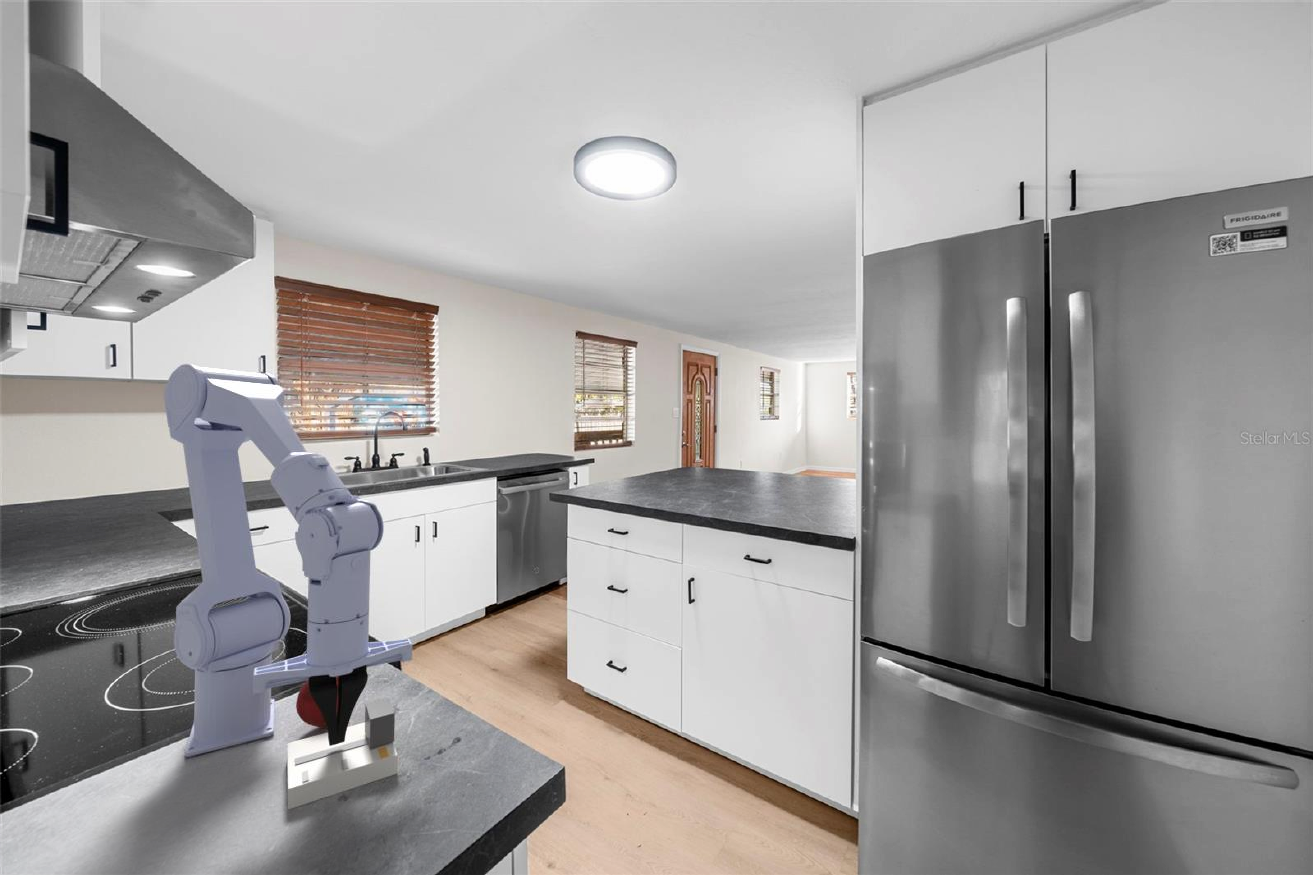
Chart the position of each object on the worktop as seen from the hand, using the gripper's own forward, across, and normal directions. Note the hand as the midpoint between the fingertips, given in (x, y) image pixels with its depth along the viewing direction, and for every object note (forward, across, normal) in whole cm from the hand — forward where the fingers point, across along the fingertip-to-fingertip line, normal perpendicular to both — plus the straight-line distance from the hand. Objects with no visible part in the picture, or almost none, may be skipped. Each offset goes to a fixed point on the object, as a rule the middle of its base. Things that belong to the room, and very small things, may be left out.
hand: (336, 739), depth 56 cm
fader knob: (+1, +4, 0) cm, 4 cm away
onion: (+3, 0, +10) cm, 11 cm away
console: (+3, 0, 0) cm, 3 cm away
